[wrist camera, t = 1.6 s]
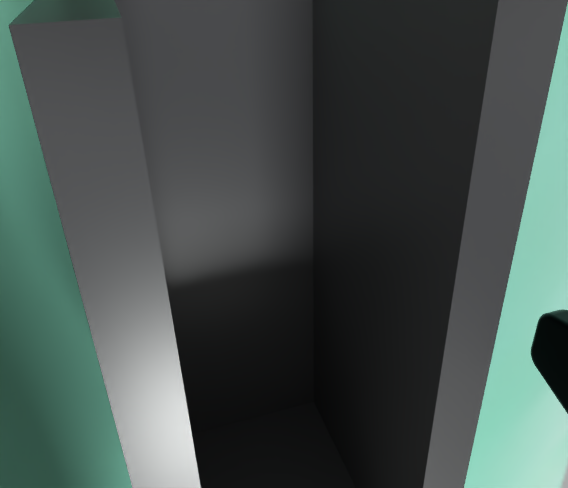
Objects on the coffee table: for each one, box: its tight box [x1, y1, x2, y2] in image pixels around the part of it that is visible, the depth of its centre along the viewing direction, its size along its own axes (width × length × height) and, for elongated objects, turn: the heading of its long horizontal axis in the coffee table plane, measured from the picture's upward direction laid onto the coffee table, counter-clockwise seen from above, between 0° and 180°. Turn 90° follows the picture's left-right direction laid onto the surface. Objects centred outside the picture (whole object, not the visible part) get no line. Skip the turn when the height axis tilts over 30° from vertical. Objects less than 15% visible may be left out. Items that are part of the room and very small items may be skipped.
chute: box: [9, 0, 568, 488], centre depth 10 cm, size 11×5×6 cm, turn 1°
